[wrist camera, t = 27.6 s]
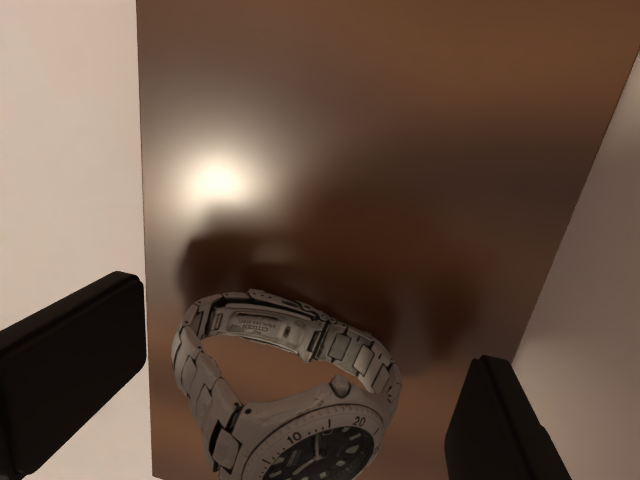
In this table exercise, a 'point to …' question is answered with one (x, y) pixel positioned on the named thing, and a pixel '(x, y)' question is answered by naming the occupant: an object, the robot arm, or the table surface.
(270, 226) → the cutting board
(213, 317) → the wristwatch
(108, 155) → the table surface
